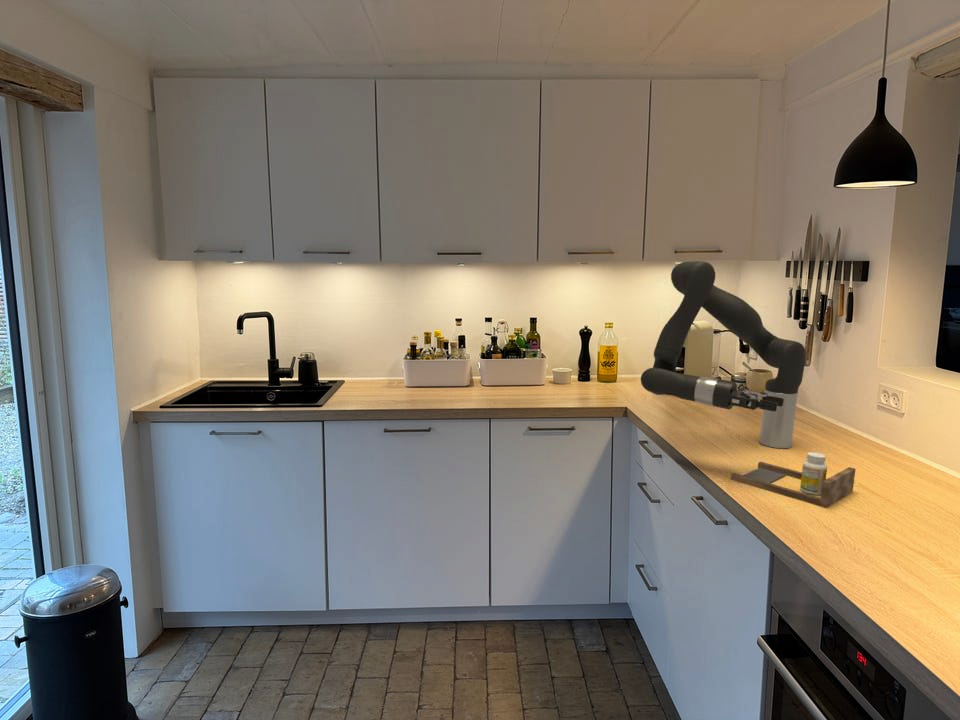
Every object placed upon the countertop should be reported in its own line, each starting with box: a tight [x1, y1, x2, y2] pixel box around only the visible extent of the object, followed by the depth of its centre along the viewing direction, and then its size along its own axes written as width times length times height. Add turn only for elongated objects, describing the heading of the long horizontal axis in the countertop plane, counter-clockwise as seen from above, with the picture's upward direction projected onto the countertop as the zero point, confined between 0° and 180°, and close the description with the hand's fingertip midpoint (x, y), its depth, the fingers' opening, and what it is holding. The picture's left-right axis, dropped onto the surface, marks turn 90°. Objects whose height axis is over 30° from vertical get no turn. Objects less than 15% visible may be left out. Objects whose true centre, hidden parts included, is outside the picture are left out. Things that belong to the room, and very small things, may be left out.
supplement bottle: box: [799, 451, 828, 496], centre depth 155 cm, size 5×5×10 cm
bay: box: [730, 461, 857, 508], centre depth 159 cm, size 17×24×6 cm
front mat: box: [742, 467, 787, 484], centre depth 165 cm, size 12×7×1 cm, turn 131°
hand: (780, 405), depth 158 cm, fingers open, 8 cm apart
